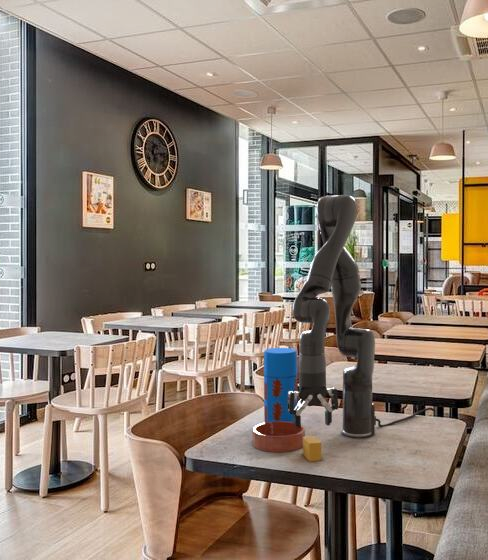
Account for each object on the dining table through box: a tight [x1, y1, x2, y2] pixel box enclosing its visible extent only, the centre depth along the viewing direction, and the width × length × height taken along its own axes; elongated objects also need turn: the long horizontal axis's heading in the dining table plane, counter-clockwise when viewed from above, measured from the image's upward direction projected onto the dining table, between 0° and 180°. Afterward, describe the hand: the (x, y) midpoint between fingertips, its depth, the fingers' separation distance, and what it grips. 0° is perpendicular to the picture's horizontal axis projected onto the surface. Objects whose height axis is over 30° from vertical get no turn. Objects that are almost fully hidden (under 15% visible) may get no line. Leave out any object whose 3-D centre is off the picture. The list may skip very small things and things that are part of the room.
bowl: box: [252, 421, 306, 453], centre depth 180 cm, size 15×15×4 cm
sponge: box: [302, 435, 322, 462], centre depth 168 cm, size 4×6×5 cm, turn 16°
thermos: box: [263, 347, 298, 423], centre depth 197 cm, size 11×11×25 cm
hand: (313, 426), depth 168 cm, fingers open, 8 cm apart
